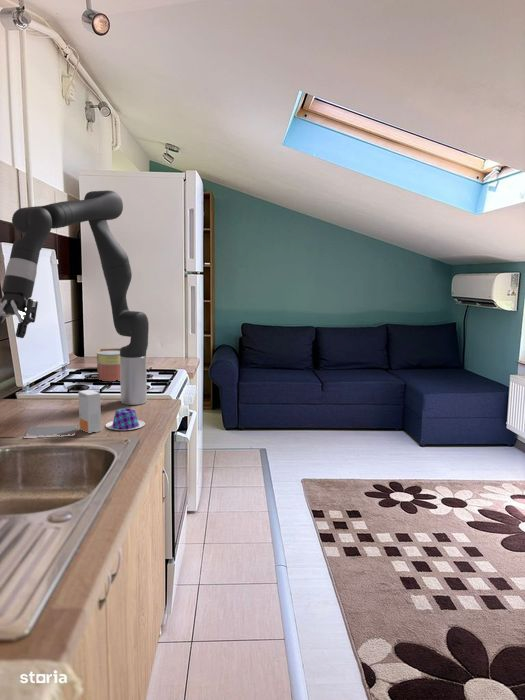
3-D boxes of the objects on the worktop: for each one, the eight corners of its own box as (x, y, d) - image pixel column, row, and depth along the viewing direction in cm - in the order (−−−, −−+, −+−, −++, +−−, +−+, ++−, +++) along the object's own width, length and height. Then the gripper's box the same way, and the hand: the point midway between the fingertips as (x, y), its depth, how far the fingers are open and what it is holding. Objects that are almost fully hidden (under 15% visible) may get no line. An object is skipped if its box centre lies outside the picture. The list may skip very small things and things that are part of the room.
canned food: (128, 377, 242) (128, 350, 241) (119, 383, 231) (119, 355, 230) (104, 376, 244) (103, 350, 242) (94, 381, 232) (93, 354, 231)
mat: (29, 428, 166) (29, 427, 166) (77, 426, 169) (77, 425, 169) (23, 438, 156) (23, 437, 156) (74, 436, 160) (74, 435, 160)
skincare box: (79, 429, 166) (77, 391, 164) (92, 427, 169) (91, 389, 167) (88, 434, 162) (87, 395, 160) (101, 431, 165) (100, 392, 163)
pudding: (129, 419, 180) (129, 403, 179) (153, 426, 172) (152, 410, 171) (97, 426, 171) (97, 410, 170) (121, 434, 163) (120, 417, 162)
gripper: (50, 283, 149) (38, 341, 147) (11, 281, 155) (-1, 337, 152) (29, 274, 142) (16, 335, 140) (-11, 273, 148) (-24, 331, 145)
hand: (7, 336), depth 146 cm, fingers open, 8 cm apart
